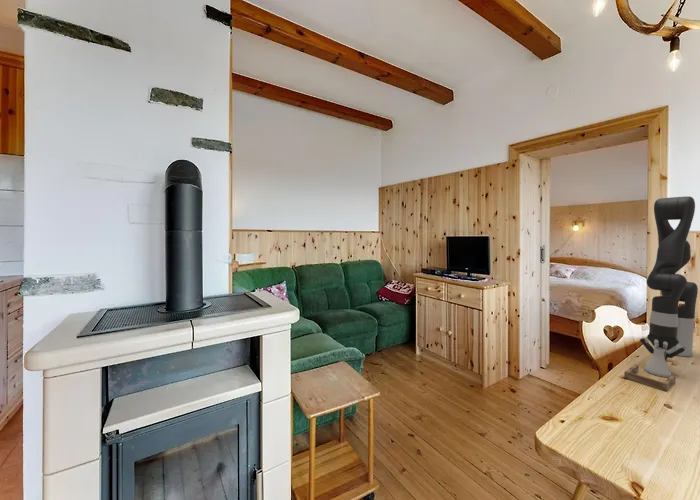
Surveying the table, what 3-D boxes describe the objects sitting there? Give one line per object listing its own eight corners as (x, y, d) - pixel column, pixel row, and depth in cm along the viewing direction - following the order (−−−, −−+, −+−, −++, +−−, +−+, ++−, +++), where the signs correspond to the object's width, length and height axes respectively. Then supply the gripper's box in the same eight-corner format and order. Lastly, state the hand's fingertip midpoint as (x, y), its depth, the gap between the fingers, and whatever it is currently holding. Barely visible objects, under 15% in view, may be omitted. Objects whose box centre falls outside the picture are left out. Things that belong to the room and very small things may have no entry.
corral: (634, 370, 116) (635, 364, 116) (675, 382, 107) (675, 375, 107) (624, 378, 110) (624, 371, 110) (666, 391, 101) (666, 384, 101)
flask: (658, 369, 117) (660, 345, 117) (677, 378, 110) (678, 352, 109) (639, 368, 118) (640, 344, 117) (656, 377, 111) (657, 351, 110)
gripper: (691, 326, 111) (687, 370, 112) (643, 317, 122) (640, 357, 123) (686, 329, 107) (683, 375, 108) (637, 320, 118) (635, 361, 119)
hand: (660, 365), depth 116 cm, fingers closed
